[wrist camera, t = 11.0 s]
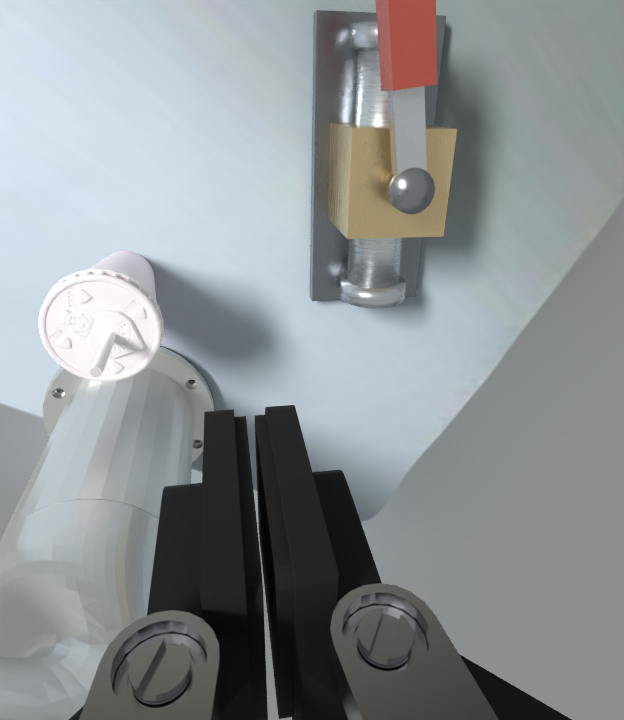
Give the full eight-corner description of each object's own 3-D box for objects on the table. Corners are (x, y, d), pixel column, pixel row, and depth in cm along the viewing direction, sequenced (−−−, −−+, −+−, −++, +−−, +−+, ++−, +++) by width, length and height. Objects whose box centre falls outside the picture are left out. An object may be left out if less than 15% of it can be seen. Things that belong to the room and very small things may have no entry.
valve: (411, 291, 41) (451, 331, 34) (309, 296, 40) (330, 338, 33) (439, 18, 33) (499, -3, 26) (313, 12, 32) (341, -10, 25)
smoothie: (153, 332, 39) (126, 442, 27) (64, 297, 37) (-10, 399, 24) (188, 256, 37) (176, 337, 25) (96, 214, 35) (32, 279, 22)
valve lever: (427, 206, 30) (441, 213, 28) (386, 213, 30) (397, 220, 28) (421, -35, 25) (437, -45, 23) (371, -28, 25) (384, -38, 23)
